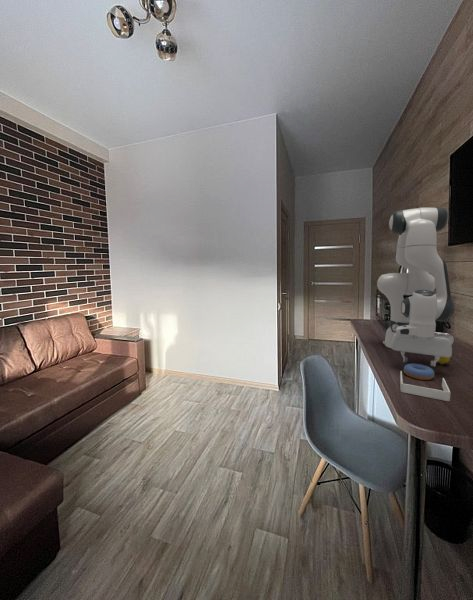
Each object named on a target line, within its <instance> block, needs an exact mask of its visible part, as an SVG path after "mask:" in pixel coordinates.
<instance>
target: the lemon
mask: <svg viewBox="0 0 473 600" xmlns="http://www.w3.org/2000/svg"><path fill="white" fill-rule="evenodd" d="M434 358H435V356H434ZM450 359H451V356H450V357H441V356H440V359H439V360H438V361H437V362H436V363H439V364H440V365H443V364H448V362H449V361H450Z"/></svg>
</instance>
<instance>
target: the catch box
mask: <svg viewBox="0 0 473 600" xmlns="http://www.w3.org/2000/svg"><path fill="white" fill-rule="evenodd" d="M399 374H400V375H399V382H400V383H399V385H400V393H405V394H410V395H415V396H420V397H424V398H428V399H429V398H430V399H434V400H441V401H444V402H449V403H450V400H451V391H450V387H449V386H448V384H447V381H446V380H445V378H444V377H442V380H441V381H442V382H441V388H442V390H440V389H436V388H431V387H425V386H418V385H413V384H407V383H404V382H403V381H404V380H403V371H402V370H400V373H399Z"/></svg>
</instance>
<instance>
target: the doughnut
mask: <svg viewBox="0 0 473 600" xmlns="http://www.w3.org/2000/svg"><path fill="white" fill-rule="evenodd" d="M403 373H404V374H405V375H406V376H407V377H410V378H412V379H415V380H420V381H430V380H433V378H434V377H435V374H436V373H435V371H434V369H433V368H431V366H428V365H424V364H421V363H406V364H405V365H404V366H403Z"/></svg>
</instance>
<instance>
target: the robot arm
mask: <svg viewBox="0 0 473 600" xmlns="http://www.w3.org/2000/svg"><path fill="white" fill-rule="evenodd" d="M448 221H449V214H448V210H447V209H446V208H445V207H442V206H441V207H440V206H435V207H418V208H417V207H416V208H409V209H399V210H397V211H396V210H395V211H394V212H392V214H391V215H390V218H389V221H388V227H389V229H390V231H391V233H393V234H396V235H398V239H397V244H396V254H395V262H396V264H398V265H399V266H401V267H402V268H404V269H407V272H392V273H391V272H389V273H386V274H385V273H384V274H381V275H380V276H379V277H378V279H377V282H376V286H377V289H378V291H379V292H381V294H383V295H384V296H385V298H387V299H388V302H389V305H390V306H389V307H390V319H389V321H388V328H387V329H386V332H385V337H384V340H383V341H382V344H384V346H385V347H386V348H389V349H392V350H393V351H397V352H400V354H401V356H402V362H403V363H408V360H409V359H408V357H407V356H405V354H406V353H411V354H420V355H427V356H435V357H434V359H433V360H430V367H436V366H437V365H436V364H437V363H438V362H437V361H438V360H439V359H440V356H441V357H450V358H451V357H452V356H453V348H452V345H453V344H454V340H455V339H454V336H453V335H452V334H450V333H448V332H439V331H438V332H437V331H436V327H437V323H436V322H442V323H443V322H444V323H445V322H446V321H448V320H450V319H451V318H452V317H453V316H454V315H455V306H454V302H453V299H452V292H451V286H450V280H449V279H450V277H449V272H448V267H447V263H446V261H445V259H443V258H441V257H440V255H439V254H438V250H437V244H438V243H437V242H438V239H437V238H438V235H437V232H441V231H442V230H443V229H444V228H446V226H447V224H448ZM435 291H436V292H435ZM404 295H411V296H407V297H406V298H404Z"/></svg>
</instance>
